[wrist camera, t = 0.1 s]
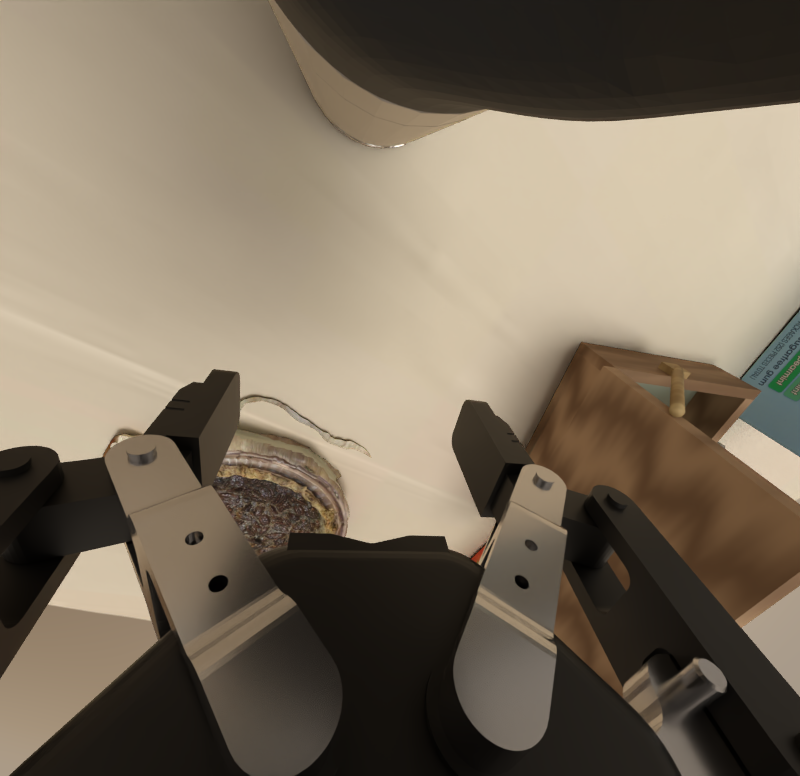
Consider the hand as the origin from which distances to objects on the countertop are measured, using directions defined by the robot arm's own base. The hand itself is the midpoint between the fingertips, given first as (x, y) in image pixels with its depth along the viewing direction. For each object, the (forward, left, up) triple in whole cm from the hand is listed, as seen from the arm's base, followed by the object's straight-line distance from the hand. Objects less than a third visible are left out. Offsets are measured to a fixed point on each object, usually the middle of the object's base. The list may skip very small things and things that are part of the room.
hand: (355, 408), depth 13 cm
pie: (+26, -7, -18) cm, 32 cm away
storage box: (+13, +30, -17) cm, 37 cm away
